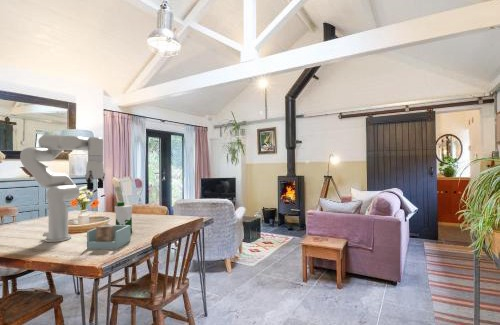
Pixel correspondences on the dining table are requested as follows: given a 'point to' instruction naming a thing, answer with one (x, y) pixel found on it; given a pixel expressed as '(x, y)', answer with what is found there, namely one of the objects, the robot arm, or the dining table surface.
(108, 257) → the dining table surface
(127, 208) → the milk carton
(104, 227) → the tan upright block
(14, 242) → the dining table surface
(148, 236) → the dining table surface
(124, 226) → the teal open bin
